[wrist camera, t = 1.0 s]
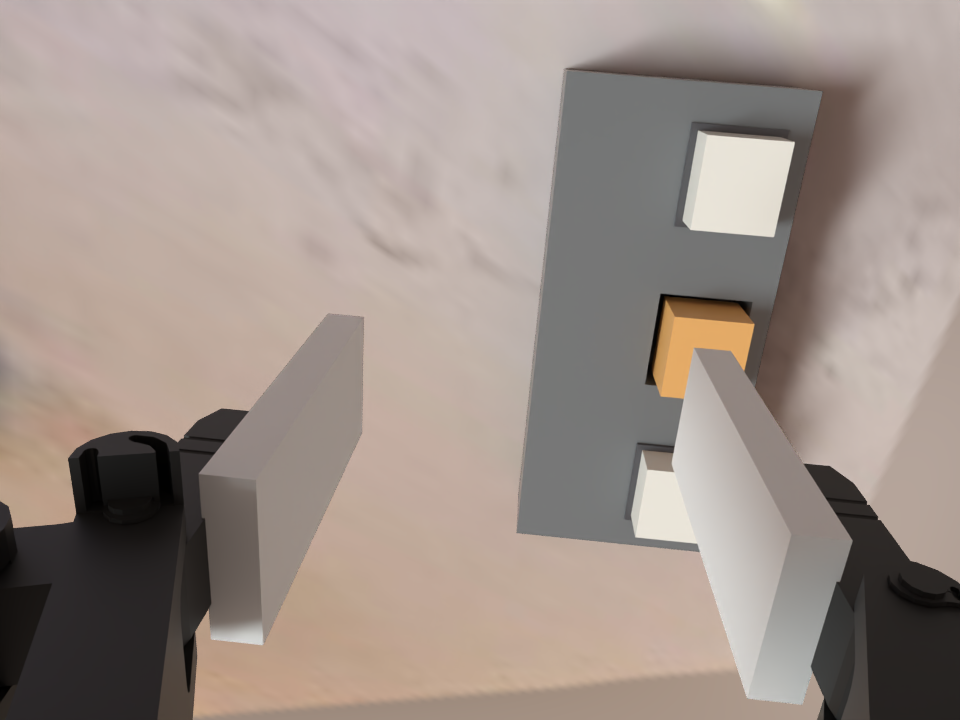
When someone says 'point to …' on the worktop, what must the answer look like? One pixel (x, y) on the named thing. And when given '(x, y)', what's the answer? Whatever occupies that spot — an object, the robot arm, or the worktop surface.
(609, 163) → the grey button panel
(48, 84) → the worktop surface
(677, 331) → the button orange
